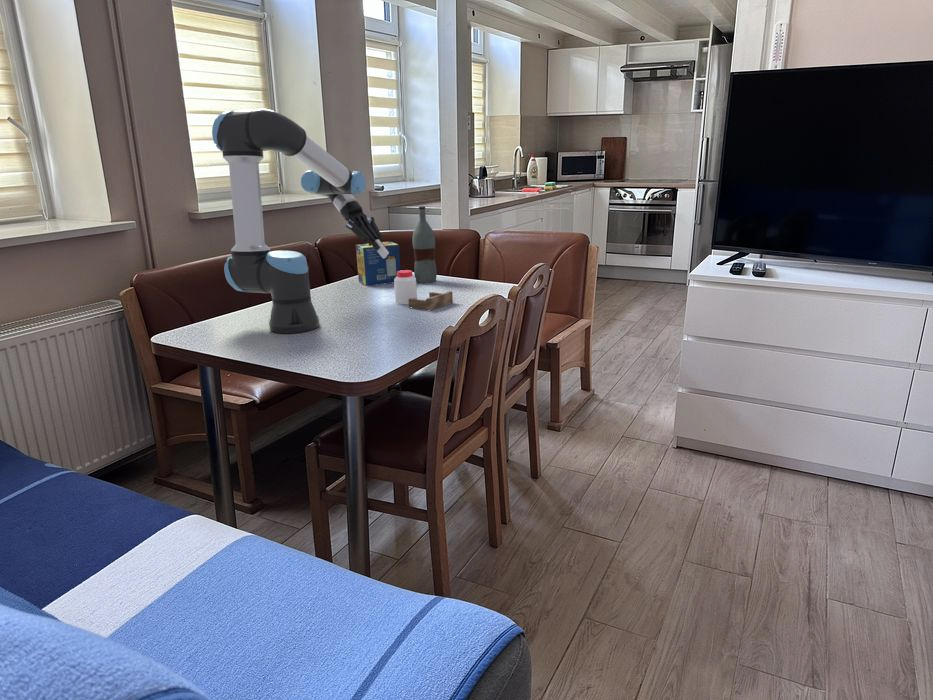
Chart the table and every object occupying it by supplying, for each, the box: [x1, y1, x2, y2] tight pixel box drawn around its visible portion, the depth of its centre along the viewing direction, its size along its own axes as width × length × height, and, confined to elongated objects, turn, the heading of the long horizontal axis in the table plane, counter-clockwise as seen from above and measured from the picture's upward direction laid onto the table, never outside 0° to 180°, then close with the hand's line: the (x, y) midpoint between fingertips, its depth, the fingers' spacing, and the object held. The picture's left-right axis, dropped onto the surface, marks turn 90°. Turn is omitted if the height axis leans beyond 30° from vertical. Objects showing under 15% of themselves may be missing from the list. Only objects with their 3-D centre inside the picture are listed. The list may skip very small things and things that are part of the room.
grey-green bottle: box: [411, 206, 438, 285], centre depth 263 cm, size 9×9×30 cm
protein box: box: [355, 241, 401, 287], centre depth 269 cm, size 10×15×16 cm
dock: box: [408, 290, 454, 311], centre depth 226 cm, size 13×9×4 cm
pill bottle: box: [393, 269, 418, 305], centre depth 232 cm, size 8×8×11 cm
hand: (385, 255), depth 235 cm, fingers closed
